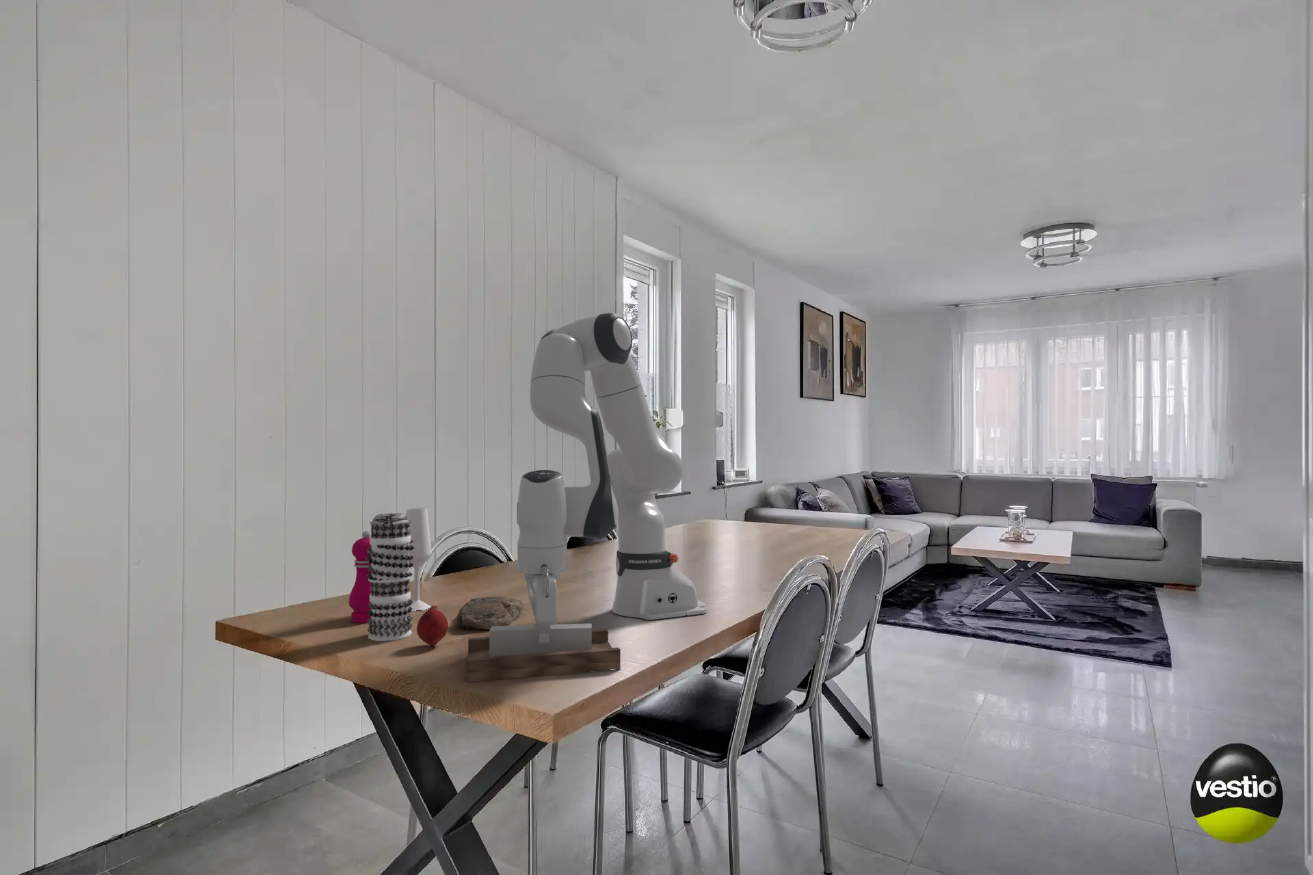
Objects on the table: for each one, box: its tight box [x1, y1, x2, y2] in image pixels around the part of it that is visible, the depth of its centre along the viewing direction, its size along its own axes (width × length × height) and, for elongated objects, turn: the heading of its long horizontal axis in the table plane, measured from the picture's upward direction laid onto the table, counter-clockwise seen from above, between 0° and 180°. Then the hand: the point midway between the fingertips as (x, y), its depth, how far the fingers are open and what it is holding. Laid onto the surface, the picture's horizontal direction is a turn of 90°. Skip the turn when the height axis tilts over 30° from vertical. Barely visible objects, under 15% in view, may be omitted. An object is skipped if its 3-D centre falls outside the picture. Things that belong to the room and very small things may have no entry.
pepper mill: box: [348, 530, 371, 624], centre depth 157 cm, size 7×7×20 cm
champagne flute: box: [405, 506, 432, 612], centre depth 168 cm, size 7×7×24 cm
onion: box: [416, 604, 449, 647], centre depth 136 cm, size 6×6×8 cm
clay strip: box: [489, 623, 593, 657], centre depth 125 cm, size 18×3×5 cm, turn 96°
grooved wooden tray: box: [466, 628, 621, 683], centre depth 125 cm, size 26×14×4 cm, turn 104°
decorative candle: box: [366, 512, 414, 642], centre depth 144 cm, size 9×9×25 cm
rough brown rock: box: [454, 596, 524, 630], centre depth 156 cm, size 14×5×20 cm
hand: (542, 637), depth 125 cm, fingers open, 5 cm apart
